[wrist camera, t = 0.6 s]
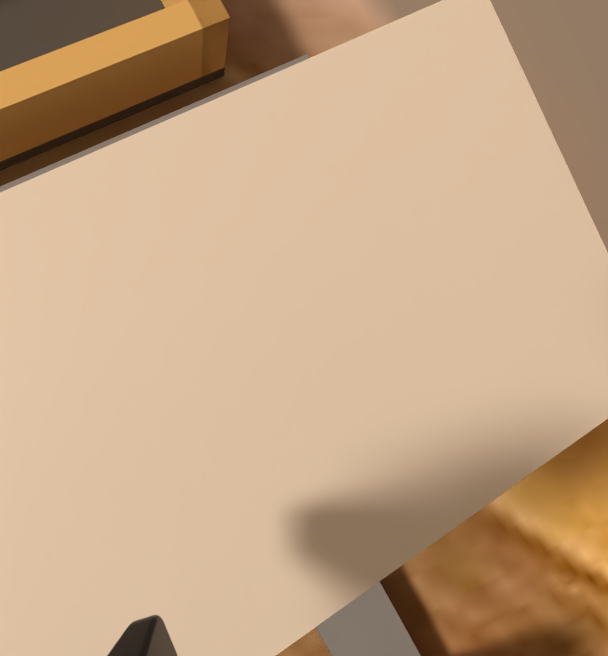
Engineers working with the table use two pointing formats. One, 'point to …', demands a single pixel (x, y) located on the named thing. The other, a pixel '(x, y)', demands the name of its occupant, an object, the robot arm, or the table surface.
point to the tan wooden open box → (98, 64)
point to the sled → (373, 605)
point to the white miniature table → (288, 342)
